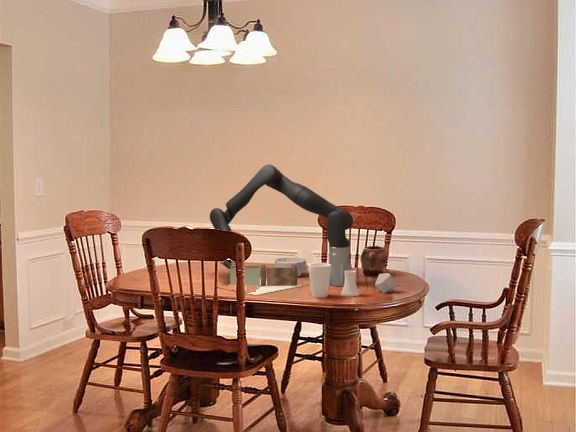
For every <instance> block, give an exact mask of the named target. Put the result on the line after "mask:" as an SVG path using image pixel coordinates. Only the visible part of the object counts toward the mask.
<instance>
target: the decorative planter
mask: <svg viewBox="0 0 576 432" xmlns="http://www.w3.org/2000/svg"><path fill="white" fill-rule="evenodd" d="M385 251H386V249H385V247H384V246H379V245H372V246H371V245H369V246H366V247H364V248H363V249H362V252H361V254H360V263H361V267H362V274H363V276H364V277H368V278H369V277H370V278H371V277H372V278H373V277H374V278H376V277H377V278H378V276H379V274H384V268H385V265H386V263H387V254H386V253H385Z"/></svg>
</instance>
